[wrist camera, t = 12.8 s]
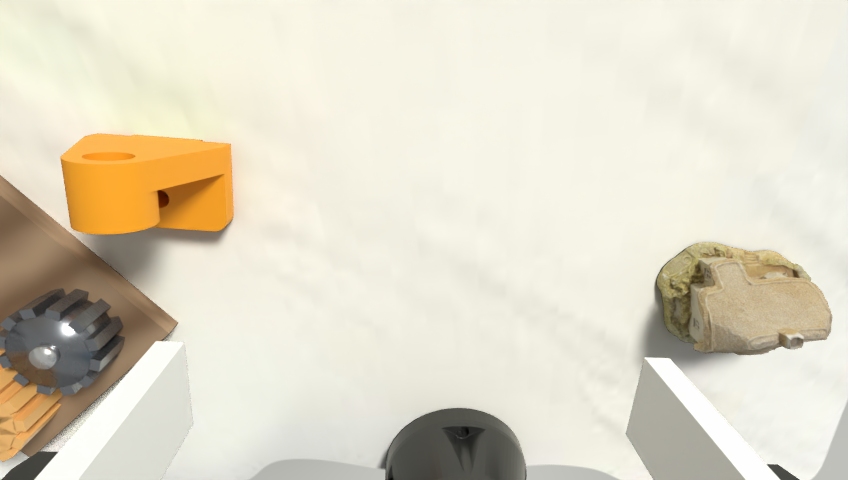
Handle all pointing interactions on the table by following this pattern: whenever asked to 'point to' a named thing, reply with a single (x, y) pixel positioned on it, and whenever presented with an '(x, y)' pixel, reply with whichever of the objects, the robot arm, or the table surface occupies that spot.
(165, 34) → the table surface
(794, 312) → the ceramic model
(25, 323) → the gear
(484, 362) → the table surface
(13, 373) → the orange gear
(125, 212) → the bracket
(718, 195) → the table surface
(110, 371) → the gear board
